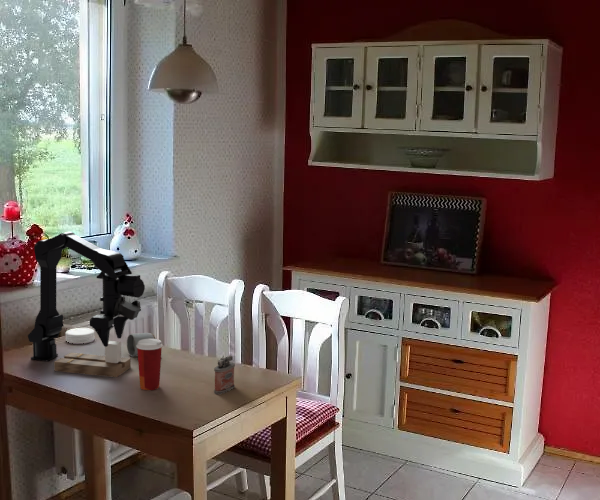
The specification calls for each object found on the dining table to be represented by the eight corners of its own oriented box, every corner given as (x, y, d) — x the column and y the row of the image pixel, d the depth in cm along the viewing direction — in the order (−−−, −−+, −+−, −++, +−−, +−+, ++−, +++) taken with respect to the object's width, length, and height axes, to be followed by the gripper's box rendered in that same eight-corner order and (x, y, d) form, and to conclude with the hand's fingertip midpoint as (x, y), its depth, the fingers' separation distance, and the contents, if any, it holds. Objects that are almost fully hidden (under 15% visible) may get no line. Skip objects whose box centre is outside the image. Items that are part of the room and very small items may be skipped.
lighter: (220, 395, 217) (220, 362, 215) (211, 392, 219) (211, 359, 217) (237, 387, 224) (237, 355, 222) (228, 385, 225) (228, 353, 224)
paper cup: (167, 384, 224) (167, 339, 222) (154, 393, 217) (154, 346, 215) (144, 381, 227) (144, 336, 224) (131, 389, 219) (130, 343, 217)
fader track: (54, 370, 234) (54, 361, 233) (70, 361, 243) (70, 351, 243) (116, 377, 229) (116, 367, 229) (130, 367, 239) (130, 357, 238)
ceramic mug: (158, 355, 252) (157, 333, 251) (135, 359, 247) (135, 336, 246) (144, 348, 261) (144, 326, 259) (122, 351, 256) (122, 329, 255)
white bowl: (60, 343, 263) (60, 333, 263) (73, 335, 273) (73, 326, 272) (87, 345, 262) (87, 335, 261) (99, 337, 271) (99, 328, 271)
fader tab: (105, 366, 234) (104, 343, 232) (109, 363, 236) (109, 340, 235) (117, 367, 233) (116, 344, 231) (121, 364, 236) (121, 342, 234)
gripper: (123, 302, 220) (123, 353, 223) (148, 289, 238) (149, 336, 241) (88, 299, 222) (89, 349, 225) (116, 286, 240) (117, 333, 243)
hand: (112, 342), depth 233 cm, fingers open, 9 cm apart
